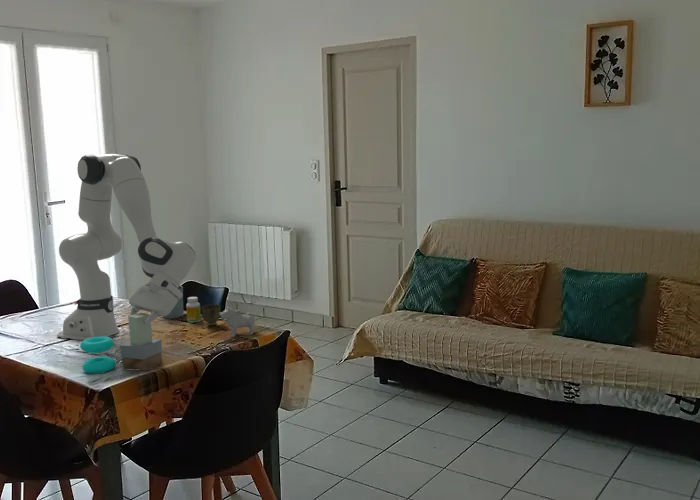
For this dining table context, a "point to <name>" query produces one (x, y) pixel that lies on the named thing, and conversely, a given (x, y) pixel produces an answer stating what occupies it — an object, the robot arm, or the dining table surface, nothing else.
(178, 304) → the grey-blue plant pot
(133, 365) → the tower bottom slab
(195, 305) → the supplement bottle
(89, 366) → the donuts
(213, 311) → the cup
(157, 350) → the tower top slab
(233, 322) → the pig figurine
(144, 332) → the sage block
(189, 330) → the dining table surface
